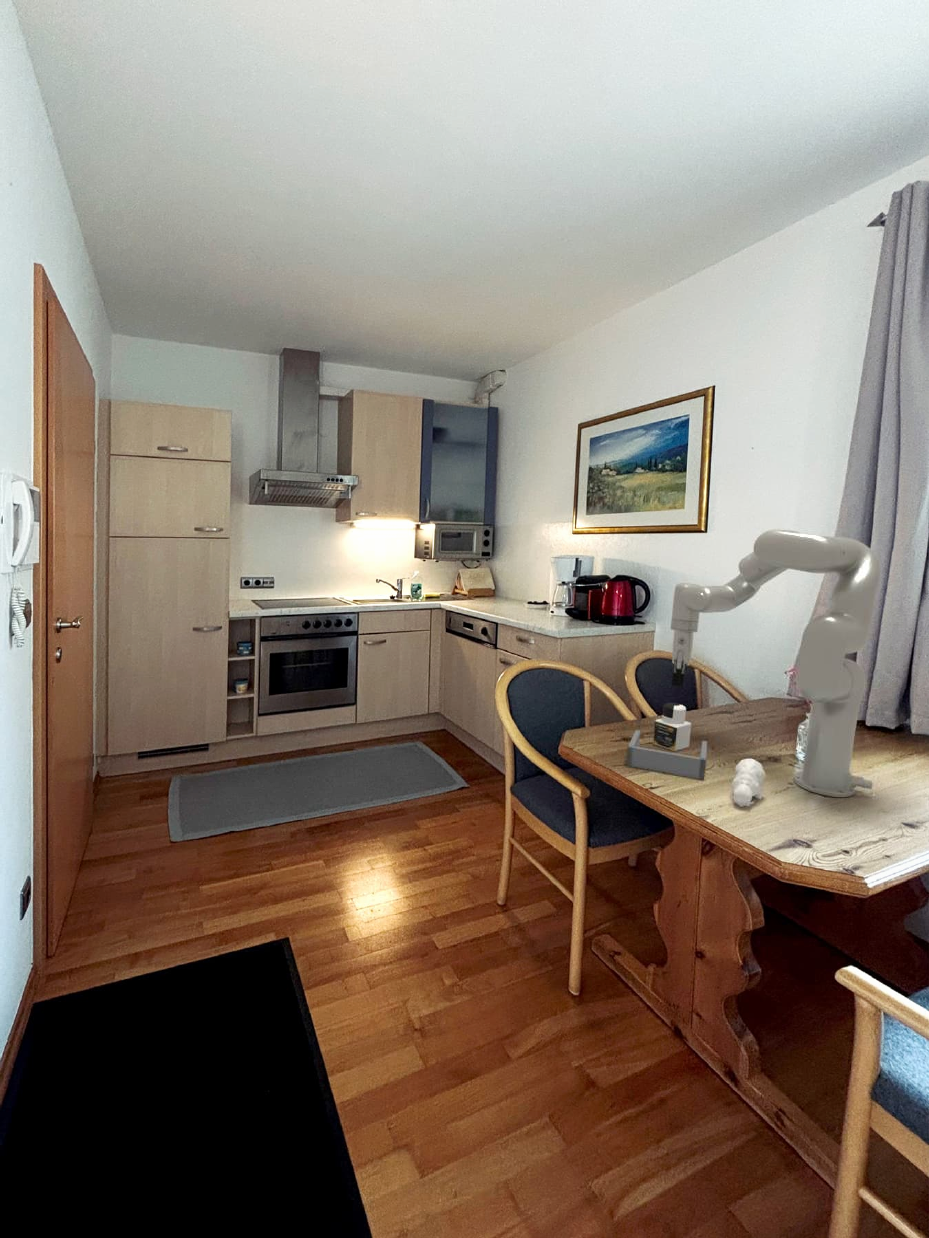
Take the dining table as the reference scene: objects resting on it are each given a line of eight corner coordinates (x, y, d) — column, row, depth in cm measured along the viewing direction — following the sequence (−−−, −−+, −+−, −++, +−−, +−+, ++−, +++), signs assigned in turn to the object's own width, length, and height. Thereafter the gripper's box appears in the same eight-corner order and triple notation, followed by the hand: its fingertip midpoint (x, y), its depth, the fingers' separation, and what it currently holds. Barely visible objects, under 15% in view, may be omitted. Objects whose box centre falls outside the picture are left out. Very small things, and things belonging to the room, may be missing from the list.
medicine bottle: (652, 743, 171) (656, 703, 169) (667, 739, 175) (671, 699, 174) (674, 751, 165) (678, 709, 164) (689, 747, 170) (693, 706, 168)
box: (705, 759, 160) (707, 741, 160) (703, 779, 146) (705, 760, 146) (634, 747, 167) (635, 729, 167) (626, 765, 153) (628, 746, 153)
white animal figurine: (767, 759, 138) (759, 780, 128) (764, 793, 140) (755, 816, 130) (738, 752, 141) (727, 772, 131) (734, 786, 143) (724, 808, 133)
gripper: (696, 630, 169) (689, 693, 172) (698, 623, 183) (691, 682, 186) (668, 627, 172) (662, 689, 175) (672, 620, 186) (666, 678, 189)
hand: (677, 685), depth 180 cm, fingers closed
